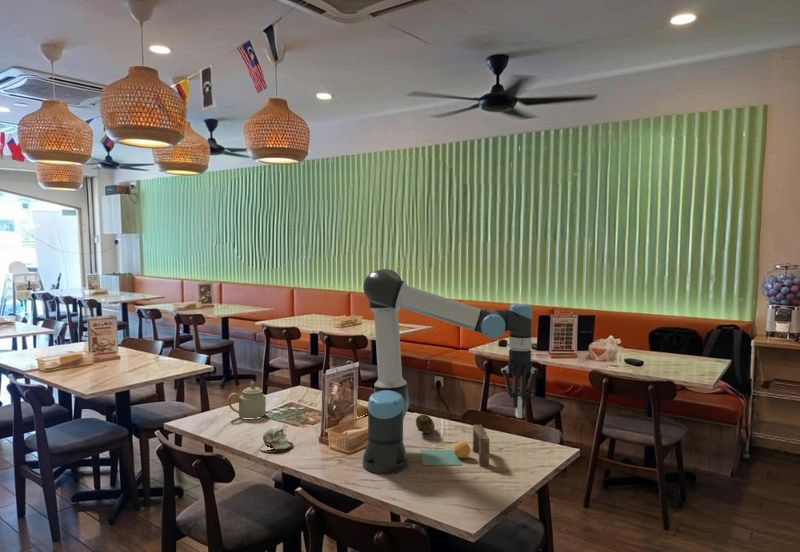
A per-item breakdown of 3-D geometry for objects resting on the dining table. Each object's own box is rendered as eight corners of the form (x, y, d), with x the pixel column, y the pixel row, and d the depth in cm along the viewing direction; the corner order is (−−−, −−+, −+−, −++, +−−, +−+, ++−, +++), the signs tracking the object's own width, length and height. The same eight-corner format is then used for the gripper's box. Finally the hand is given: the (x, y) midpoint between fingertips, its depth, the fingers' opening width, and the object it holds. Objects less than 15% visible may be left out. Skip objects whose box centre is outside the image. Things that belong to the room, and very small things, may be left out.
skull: (302, 442, 192) (289, 427, 185) (286, 468, 186) (272, 453, 179) (279, 434, 198) (265, 419, 192) (263, 459, 192) (248, 444, 186)
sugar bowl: (245, 423, 215) (245, 387, 214) (226, 419, 220) (226, 383, 219) (271, 414, 228) (271, 380, 227) (252, 410, 233) (252, 376, 232)
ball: (469, 462, 179) (453, 458, 178) (466, 456, 184) (451, 452, 184) (473, 447, 179) (457, 443, 178) (470, 441, 184) (455, 437, 184)
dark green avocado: (442, 430, 210) (442, 410, 210) (428, 439, 199) (428, 419, 198) (423, 426, 214) (423, 407, 214) (408, 436, 203) (408, 415, 202)
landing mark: (422, 465, 175) (422, 464, 175) (420, 450, 188) (420, 450, 188) (461, 465, 175) (461, 464, 175) (456, 450, 188) (456, 450, 188)
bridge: (479, 466, 174) (480, 438, 174) (472, 449, 189) (473, 424, 188) (488, 466, 174) (489, 438, 174) (480, 449, 189) (481, 424, 189)
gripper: (503, 350, 177) (502, 420, 177) (542, 351, 177) (540, 420, 178) (498, 347, 184) (497, 413, 185) (535, 347, 184) (534, 413, 185)
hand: (518, 416), depth 181 cm, fingers closed
